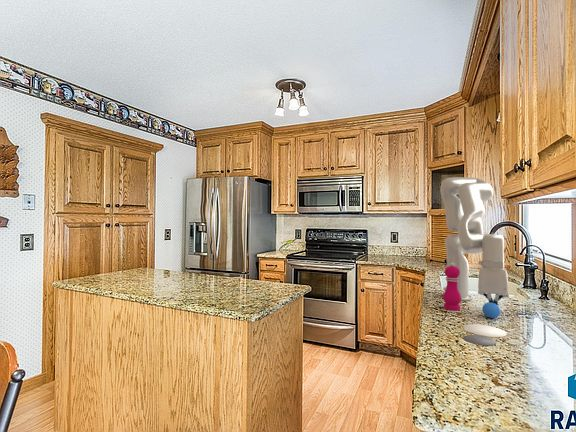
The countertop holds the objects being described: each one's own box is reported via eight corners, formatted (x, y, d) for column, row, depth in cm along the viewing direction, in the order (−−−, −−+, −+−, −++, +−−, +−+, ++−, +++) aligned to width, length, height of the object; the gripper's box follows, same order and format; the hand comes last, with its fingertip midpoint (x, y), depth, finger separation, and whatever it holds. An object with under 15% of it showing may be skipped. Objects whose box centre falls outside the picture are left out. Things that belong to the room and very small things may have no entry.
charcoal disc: (457, 336, 107) (457, 335, 107) (480, 334, 109) (480, 334, 109) (478, 346, 99) (478, 346, 99) (503, 344, 100) (503, 344, 100)
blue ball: (479, 307, 134) (477, 311, 129) (490, 297, 131) (489, 301, 127) (492, 318, 131) (491, 323, 126) (504, 309, 129) (503, 313, 124)
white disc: (454, 325, 118) (454, 325, 118) (484, 323, 121) (484, 323, 121) (483, 338, 106) (483, 337, 106) (516, 335, 108) (516, 335, 108)
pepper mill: (457, 306, 145) (457, 261, 145) (464, 311, 138) (464, 263, 138) (440, 306, 146) (440, 261, 146) (446, 310, 139) (446, 263, 139)
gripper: (470, 264, 134) (471, 309, 134) (515, 267, 126) (515, 315, 125) (473, 262, 140) (473, 305, 140) (515, 265, 132) (516, 311, 131)
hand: (493, 310), depth 132 cm, fingers closed
